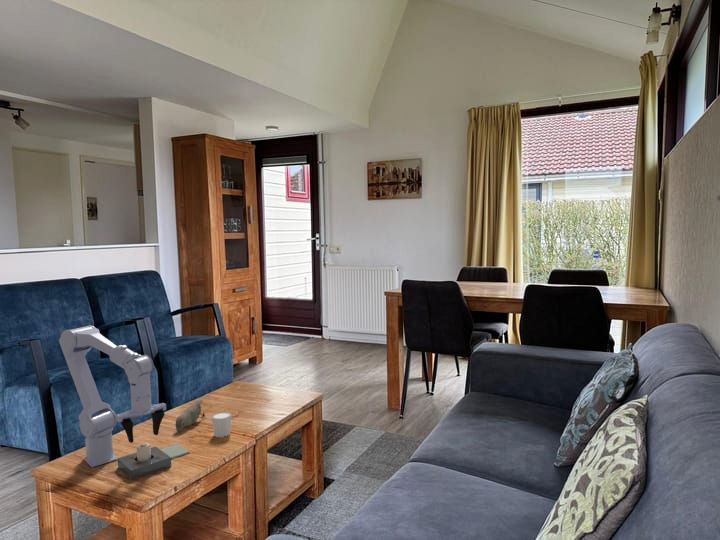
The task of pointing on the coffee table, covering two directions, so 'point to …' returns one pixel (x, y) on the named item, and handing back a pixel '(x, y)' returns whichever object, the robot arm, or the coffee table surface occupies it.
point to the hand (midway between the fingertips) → (143, 438)
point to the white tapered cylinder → (221, 424)
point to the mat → (175, 451)
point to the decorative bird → (189, 416)
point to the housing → (144, 464)
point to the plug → (143, 452)
